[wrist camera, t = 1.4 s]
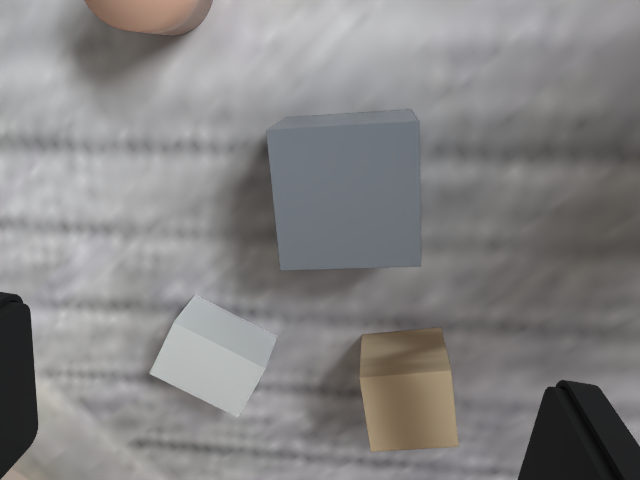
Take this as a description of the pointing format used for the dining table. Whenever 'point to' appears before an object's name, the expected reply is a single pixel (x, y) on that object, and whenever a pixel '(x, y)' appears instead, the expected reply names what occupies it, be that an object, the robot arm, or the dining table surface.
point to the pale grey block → (214, 355)
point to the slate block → (347, 190)
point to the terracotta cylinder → (152, 14)
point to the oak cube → (407, 390)
